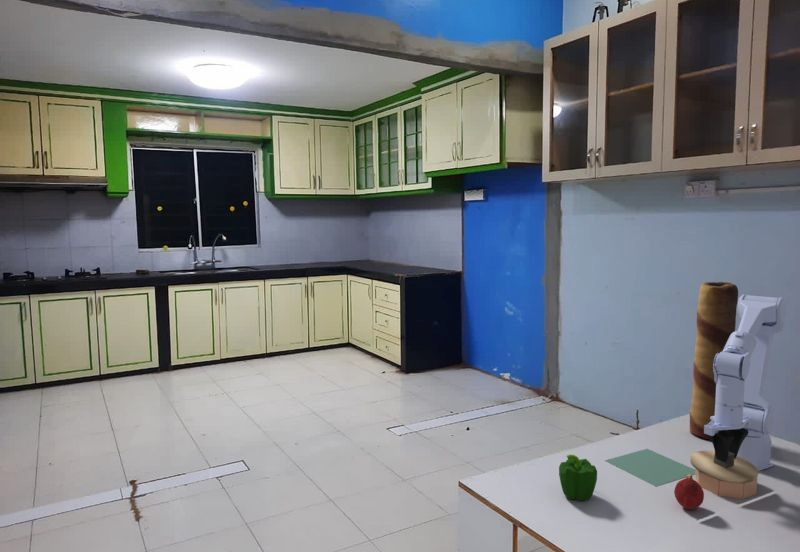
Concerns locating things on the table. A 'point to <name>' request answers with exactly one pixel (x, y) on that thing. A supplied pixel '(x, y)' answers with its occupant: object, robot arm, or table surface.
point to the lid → (724, 467)
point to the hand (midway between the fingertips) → (726, 458)
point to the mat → (651, 467)
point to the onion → (689, 493)
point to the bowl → (726, 486)
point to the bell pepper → (577, 478)
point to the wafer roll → (710, 348)
